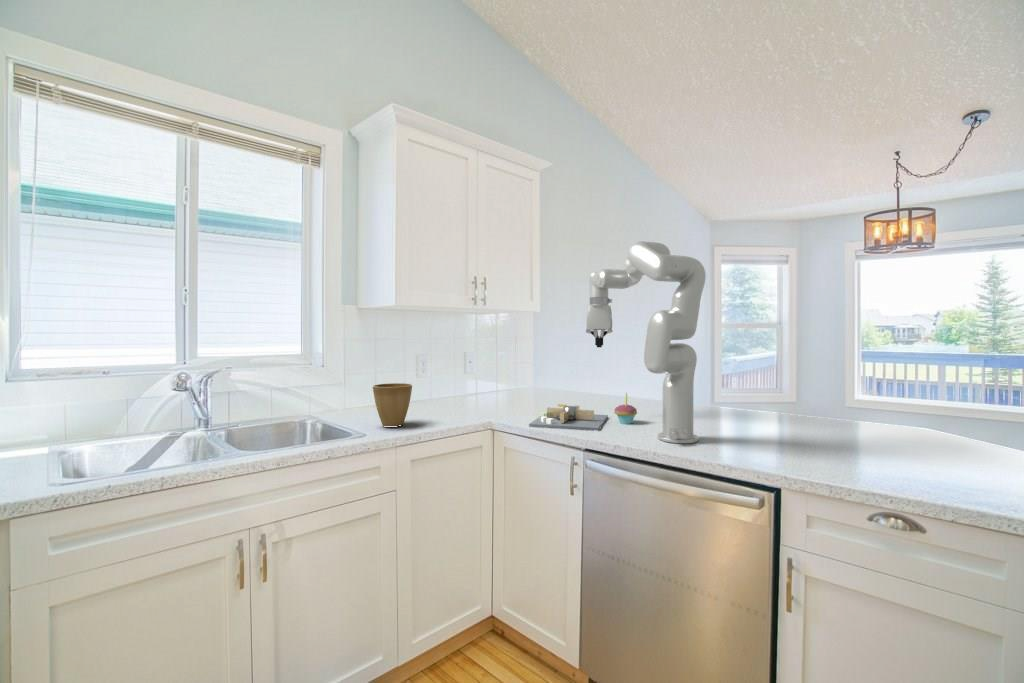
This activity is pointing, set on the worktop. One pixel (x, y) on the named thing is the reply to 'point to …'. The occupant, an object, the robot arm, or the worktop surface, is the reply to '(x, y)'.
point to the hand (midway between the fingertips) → (599, 347)
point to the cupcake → (625, 412)
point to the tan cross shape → (569, 413)
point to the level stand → (569, 422)
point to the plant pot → (392, 402)
